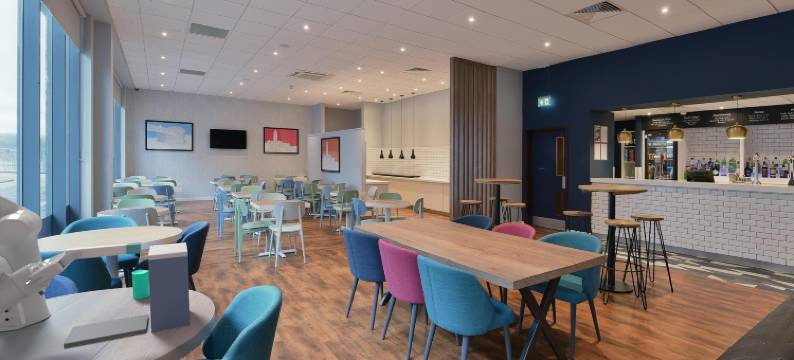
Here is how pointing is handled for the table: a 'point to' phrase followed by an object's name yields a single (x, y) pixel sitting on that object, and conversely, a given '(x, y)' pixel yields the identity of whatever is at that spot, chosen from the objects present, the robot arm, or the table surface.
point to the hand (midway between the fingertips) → (81, 251)
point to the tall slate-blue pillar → (168, 286)
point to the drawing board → (106, 330)
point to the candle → (140, 284)
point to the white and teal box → (106, 250)
